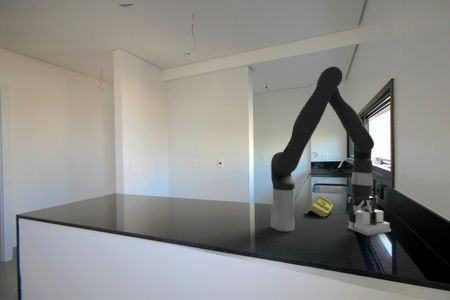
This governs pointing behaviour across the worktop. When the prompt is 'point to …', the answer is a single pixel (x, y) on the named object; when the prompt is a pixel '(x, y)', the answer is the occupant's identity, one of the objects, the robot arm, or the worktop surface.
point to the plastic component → (320, 206)
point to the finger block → (362, 219)
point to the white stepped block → (373, 224)
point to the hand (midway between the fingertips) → (360, 221)
